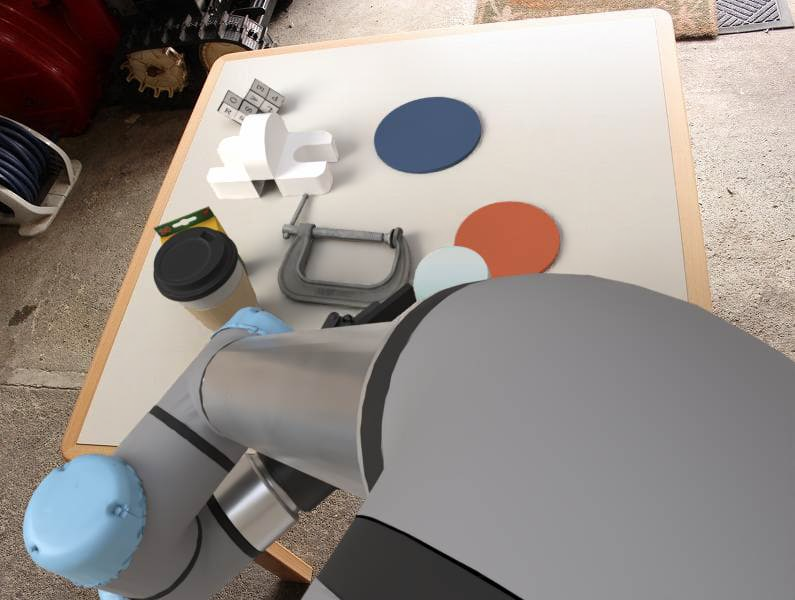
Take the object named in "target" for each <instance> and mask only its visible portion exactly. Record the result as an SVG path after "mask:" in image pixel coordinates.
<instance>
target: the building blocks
mask: <svg viewBox="0 0 795 600" xmlns="http://www.w3.org/2000/svg"><path fill="white" fill-rule="evenodd" d="M284 101H285V95H282V94H281V93H280V92H277V91H276V90H274V89H273V88H271V87H270V86H269V85H267V84H266V83H264V82H262V81H260V80H259V79H257V78H255V77H254V79H253V81H252V83H251V84H250V86H249V88H248V89H247V90H246V92H245V94H244V95H243V97H241V96H239V95H238V94H236V93H234V92H233V91H232V90H230V89H228V90H227V91H226V93H225V95H224V97H223V98H222V100H221V102H220V104H219V106H218V107H217V110H216V111H217V112H218V113H220V114H222V115H223V116H225V117H227V118H228V119H230V120H231V121H233V122H234V123H237V124H238V125H240V127H241V126H242V122H243V120H244V119H245V117H246V116H248V115H250V114H258V111H259V110H260V111H261V112H262V113H263V112H264V113H278V112H279V110H280V109H281V107H282V104H283V102H284Z"/></svg>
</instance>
